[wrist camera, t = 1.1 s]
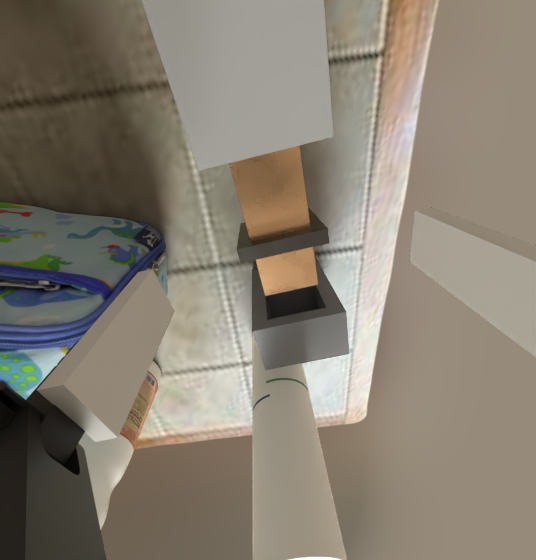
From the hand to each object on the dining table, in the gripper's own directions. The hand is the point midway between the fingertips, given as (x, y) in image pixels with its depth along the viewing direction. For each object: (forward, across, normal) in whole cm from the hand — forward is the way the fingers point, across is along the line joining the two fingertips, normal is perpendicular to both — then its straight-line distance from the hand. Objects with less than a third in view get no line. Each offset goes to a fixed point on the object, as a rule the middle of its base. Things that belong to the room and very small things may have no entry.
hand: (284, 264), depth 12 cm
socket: (+19, 0, -12) cm, 22 cm away
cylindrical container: (+19, -3, -22) cm, 29 cm away
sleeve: (+19, 0, +9) cm, 21 cm away
